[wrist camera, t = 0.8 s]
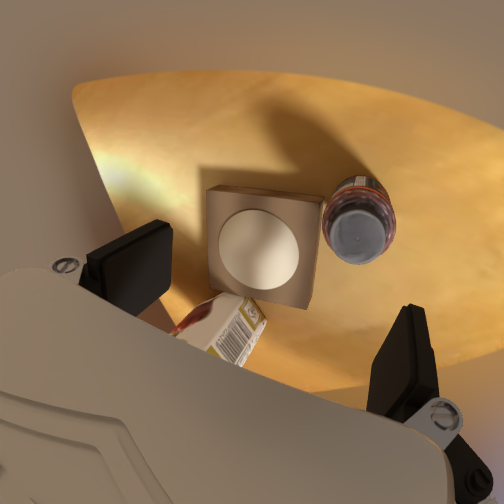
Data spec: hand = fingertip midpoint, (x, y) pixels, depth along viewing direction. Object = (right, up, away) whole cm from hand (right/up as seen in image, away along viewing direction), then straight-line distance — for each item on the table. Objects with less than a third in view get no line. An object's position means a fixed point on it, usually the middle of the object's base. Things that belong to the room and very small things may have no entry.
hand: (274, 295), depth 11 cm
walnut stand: (+1, +3, +24) cm, 24 cm away
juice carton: (-3, -6, +30) cm, 30 cm away
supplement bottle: (+10, +7, +18) cm, 22 cm away
